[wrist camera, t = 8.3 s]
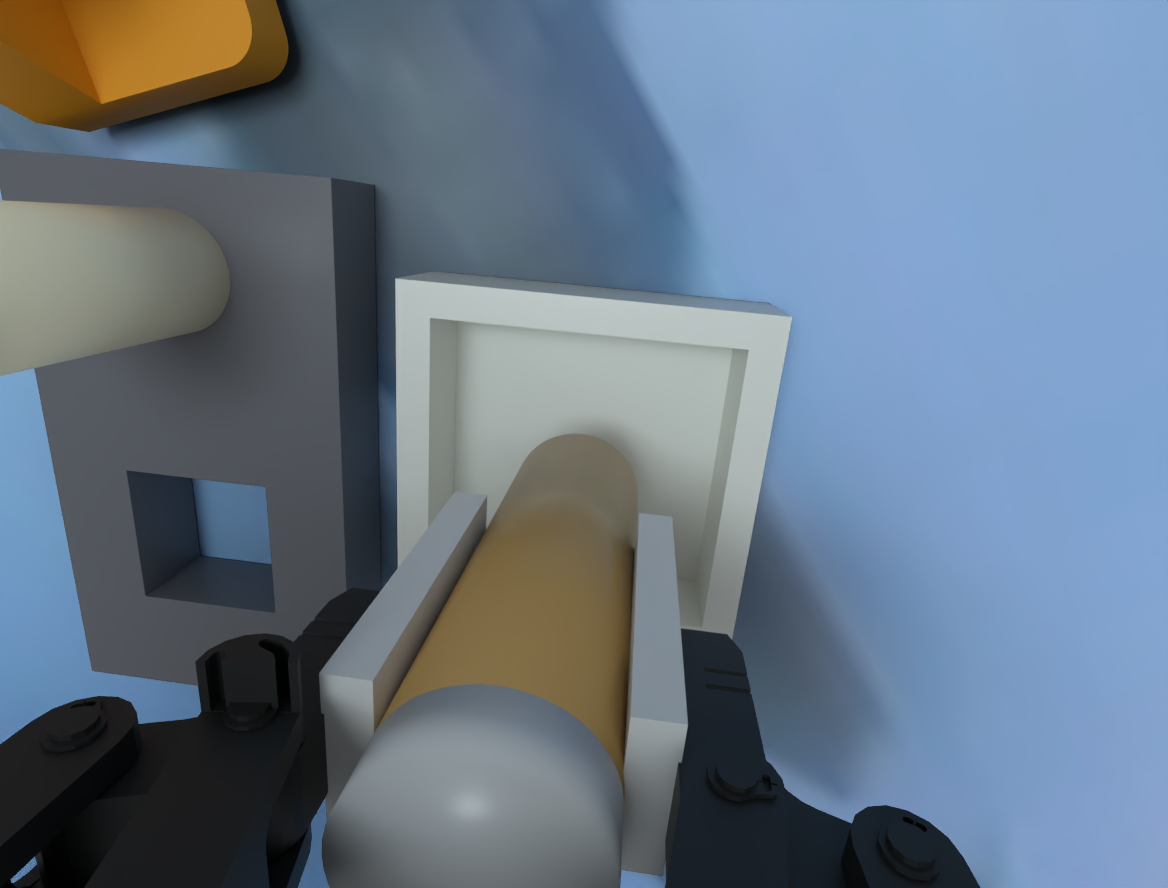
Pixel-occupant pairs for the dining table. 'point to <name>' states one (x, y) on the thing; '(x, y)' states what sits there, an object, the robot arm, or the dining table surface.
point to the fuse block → (196, 389)
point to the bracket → (132, 56)
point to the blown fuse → (511, 701)
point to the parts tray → (592, 406)
